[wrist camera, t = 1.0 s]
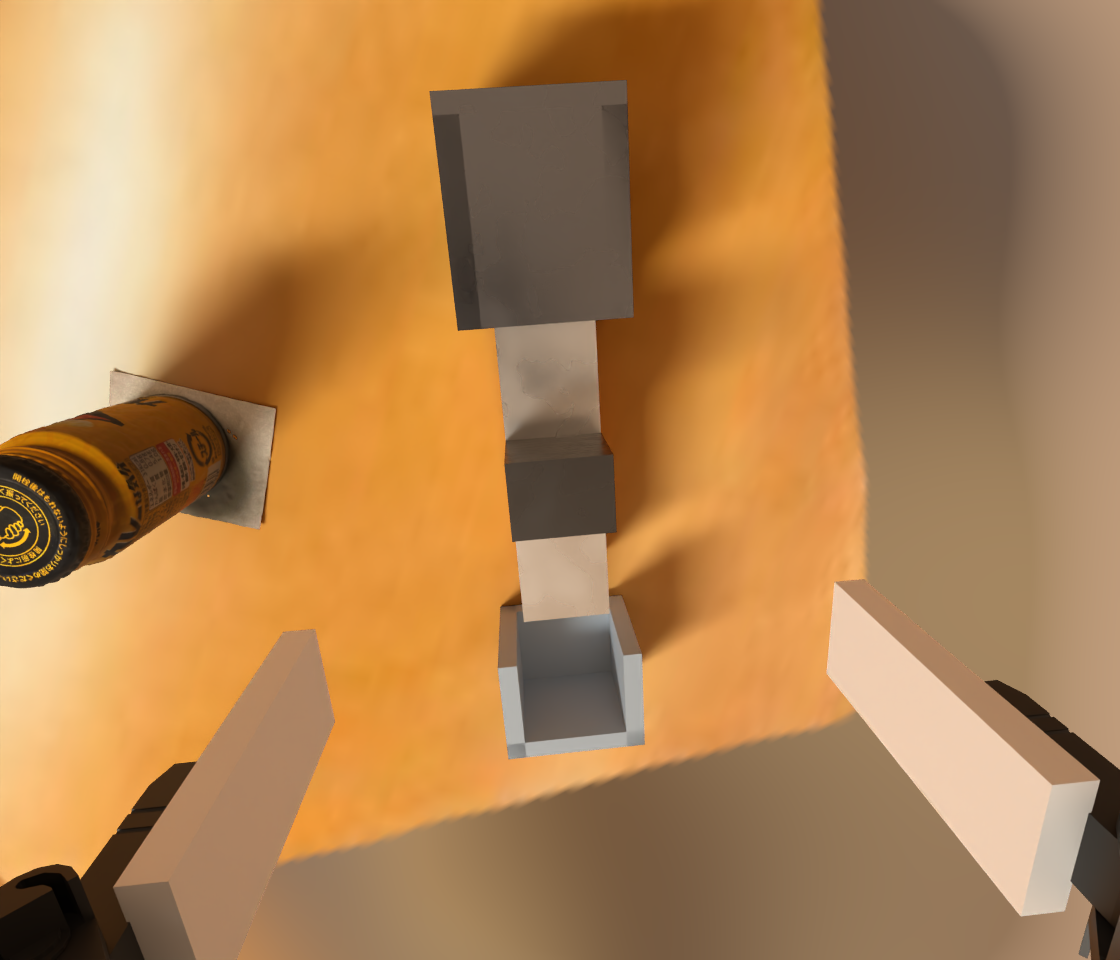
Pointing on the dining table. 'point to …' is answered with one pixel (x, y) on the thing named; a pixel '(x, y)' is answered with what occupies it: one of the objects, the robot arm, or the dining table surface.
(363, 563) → the dining table surface
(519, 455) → the light gray bar
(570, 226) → the sleeve
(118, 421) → the yellow drink bottle
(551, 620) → the socket
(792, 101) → the dining table surface
